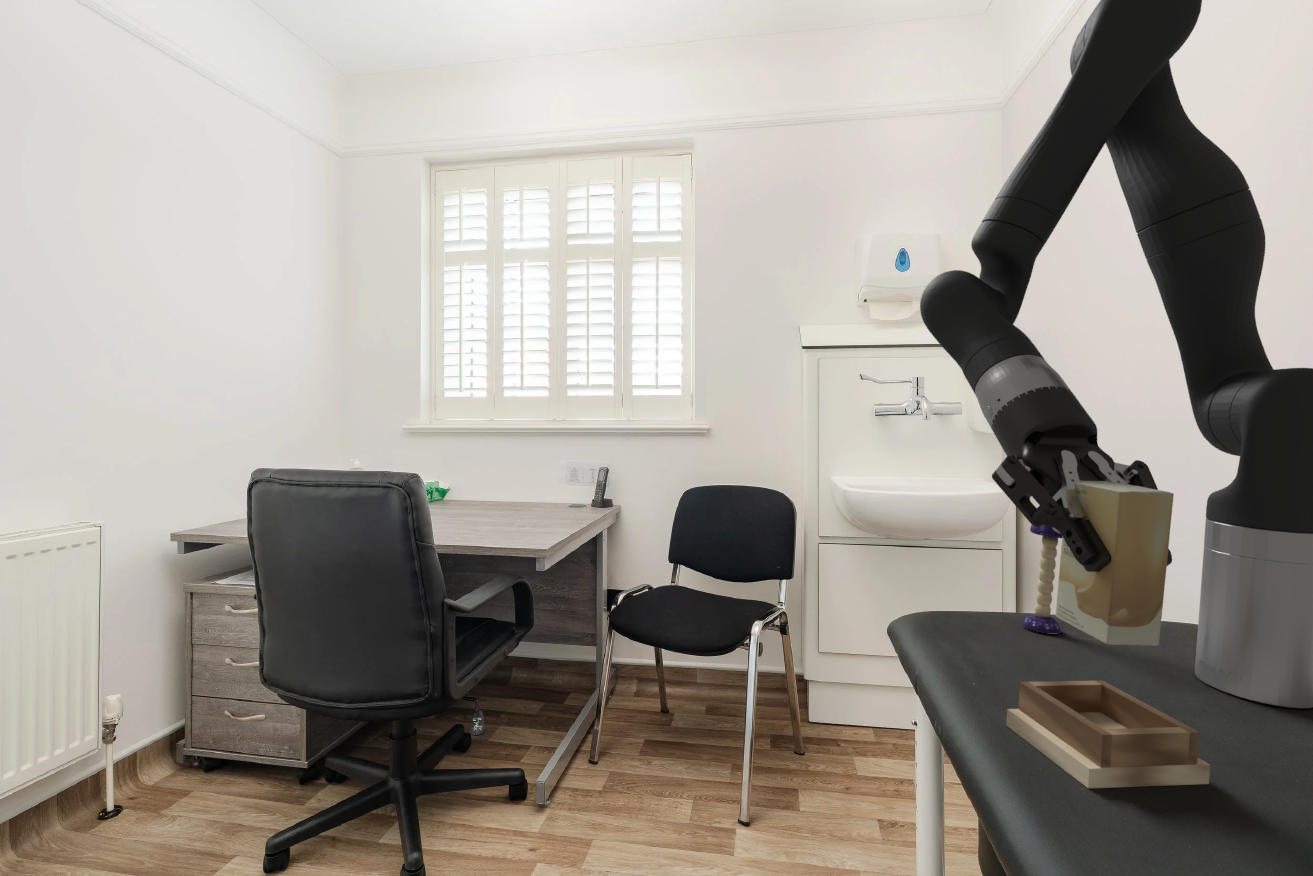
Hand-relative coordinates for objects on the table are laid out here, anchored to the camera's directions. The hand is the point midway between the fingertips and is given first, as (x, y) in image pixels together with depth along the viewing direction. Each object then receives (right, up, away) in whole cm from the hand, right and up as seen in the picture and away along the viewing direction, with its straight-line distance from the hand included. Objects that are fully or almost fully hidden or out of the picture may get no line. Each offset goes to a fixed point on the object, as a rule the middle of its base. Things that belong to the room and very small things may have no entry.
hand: (1130, 566), depth 47 cm
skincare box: (0, -6, +2) cm, 6 cm away
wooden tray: (-1, -16, +2) cm, 16 cm away
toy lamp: (+14, -15, +32) cm, 38 cm away
